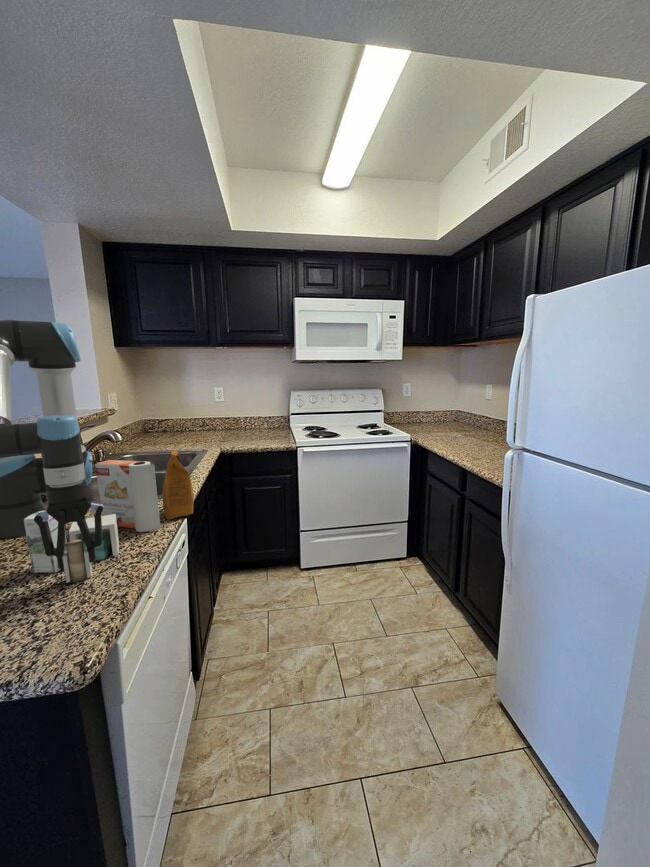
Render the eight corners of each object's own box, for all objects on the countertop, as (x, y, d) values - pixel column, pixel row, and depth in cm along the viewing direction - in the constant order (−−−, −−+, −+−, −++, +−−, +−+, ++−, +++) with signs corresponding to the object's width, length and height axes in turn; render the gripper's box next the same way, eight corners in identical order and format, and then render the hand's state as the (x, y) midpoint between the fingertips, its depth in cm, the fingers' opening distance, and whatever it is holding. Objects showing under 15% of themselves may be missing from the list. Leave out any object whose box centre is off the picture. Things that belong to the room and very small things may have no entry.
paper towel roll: (133, 528, 114) (126, 463, 110) (153, 523, 118) (147, 459, 114) (139, 535, 108) (132, 467, 105) (160, 529, 112) (154, 463, 109)
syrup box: (71, 561, 94) (63, 508, 92) (55, 573, 88) (46, 517, 86) (49, 562, 94) (40, 509, 91) (31, 574, 88) (22, 518, 86)
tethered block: (90, 552, 98) (86, 521, 97) (110, 550, 100) (106, 519, 98) (64, 583, 84) (59, 547, 82) (88, 580, 85) (83, 544, 84)
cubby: (77, 551, 99) (73, 520, 98) (119, 543, 104) (115, 513, 102) (73, 564, 92) (68, 531, 91) (118, 555, 97) (114, 523, 95)
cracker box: (102, 526, 116) (93, 463, 112) (117, 519, 121) (109, 459, 118) (138, 530, 112) (130, 465, 109) (152, 522, 118) (145, 460, 114)
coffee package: (193, 505, 134) (188, 447, 130) (195, 516, 122) (190, 453, 119) (164, 509, 130) (158, 450, 126) (164, 522, 118) (157, 457, 115)
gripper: (15, 493, 75) (32, 595, 79) (107, 481, 83) (118, 575, 86) (25, 484, 82) (40, 579, 85) (109, 473, 89) (119, 561, 93)
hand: (79, 576), depth 86 cm, fingers open, 3 cm apart
